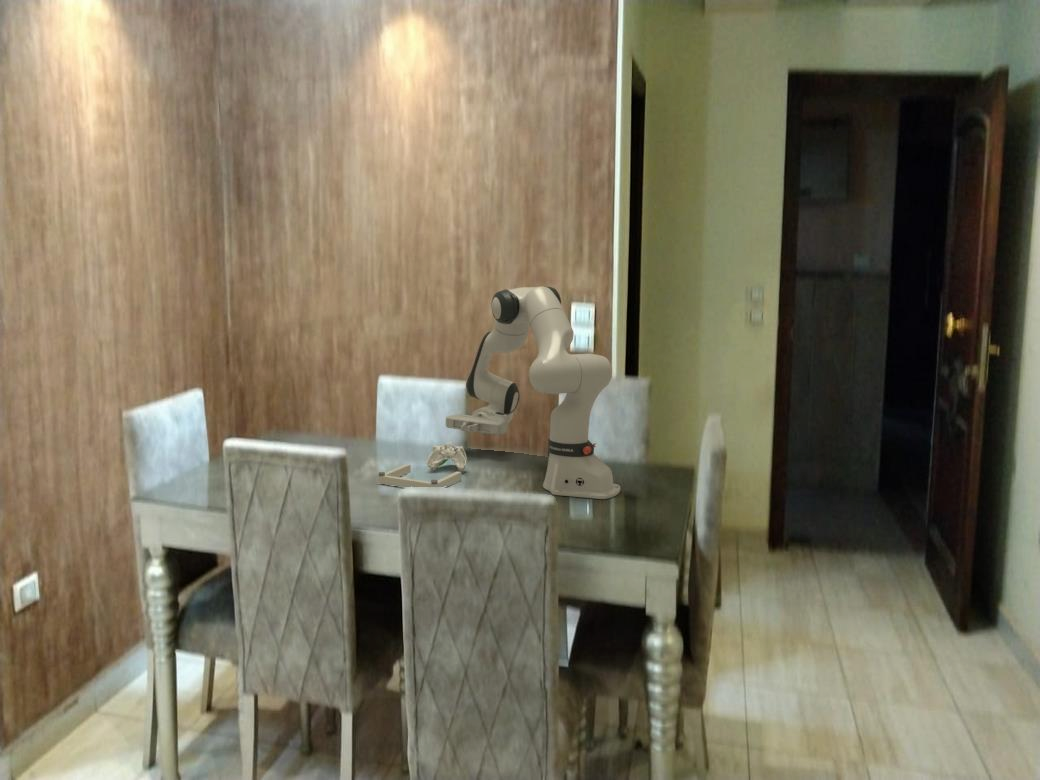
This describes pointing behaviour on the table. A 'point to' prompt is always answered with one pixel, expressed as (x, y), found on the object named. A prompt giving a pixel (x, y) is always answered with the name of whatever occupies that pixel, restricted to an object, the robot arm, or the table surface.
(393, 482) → the bent beige bar frame
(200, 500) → the table surface
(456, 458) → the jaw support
